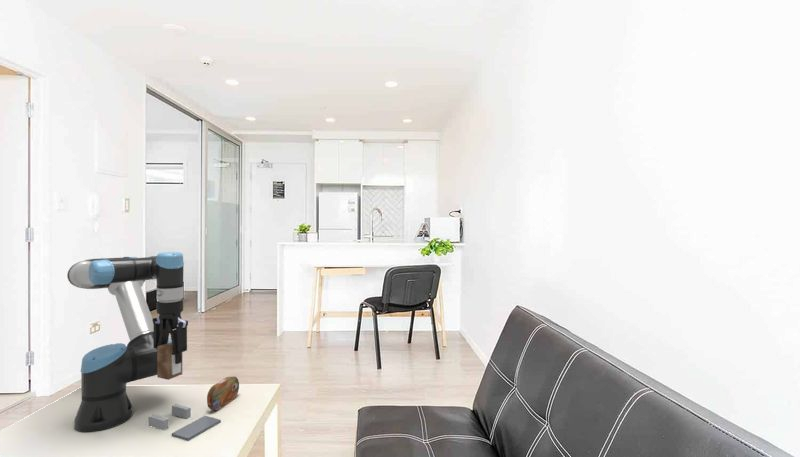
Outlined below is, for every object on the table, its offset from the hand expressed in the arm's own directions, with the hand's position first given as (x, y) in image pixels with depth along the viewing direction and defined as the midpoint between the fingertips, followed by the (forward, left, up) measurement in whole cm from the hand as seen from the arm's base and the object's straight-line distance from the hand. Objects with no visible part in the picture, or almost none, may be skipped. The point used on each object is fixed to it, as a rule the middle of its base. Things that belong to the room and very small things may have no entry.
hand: (170, 371), depth 128 cm
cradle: (0, 0, -16) cm, 16 cm away
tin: (+6, +16, -16) cm, 24 cm away
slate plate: (+12, 0, -16) cm, 20 cm away
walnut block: (0, 0, -1) cm, 1 cm away
